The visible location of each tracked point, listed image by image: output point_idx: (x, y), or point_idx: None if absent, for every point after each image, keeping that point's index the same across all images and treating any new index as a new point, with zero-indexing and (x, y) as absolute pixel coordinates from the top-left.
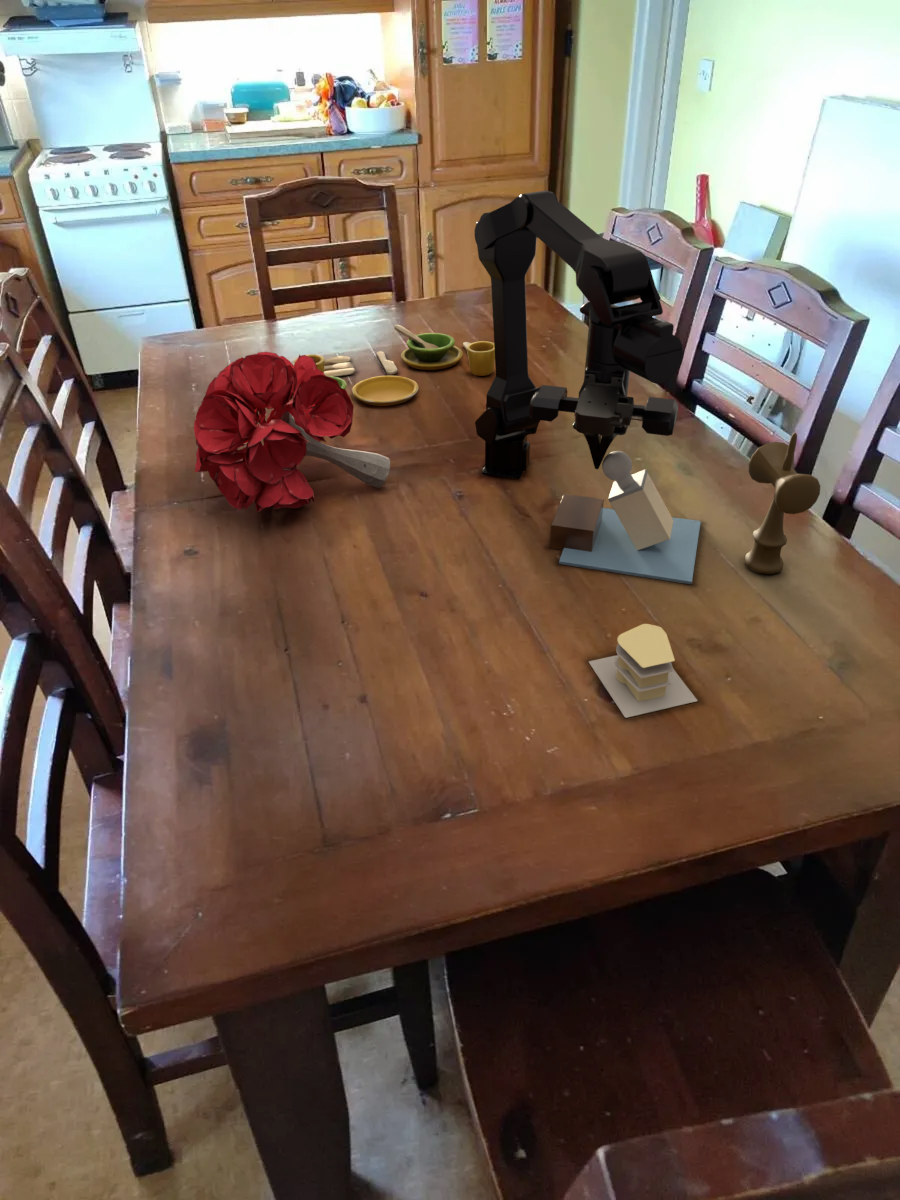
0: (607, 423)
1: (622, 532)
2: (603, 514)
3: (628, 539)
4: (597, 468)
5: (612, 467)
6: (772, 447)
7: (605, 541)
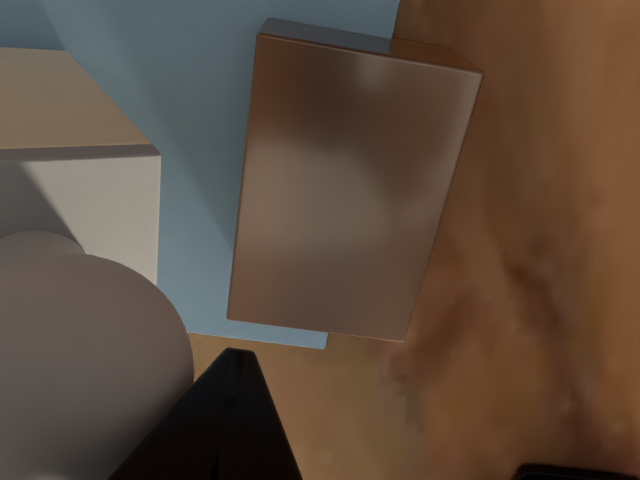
0: None
1: None
2: None
3: None
4: (232, 349)
5: (68, 313)
6: None
7: (211, 110)
